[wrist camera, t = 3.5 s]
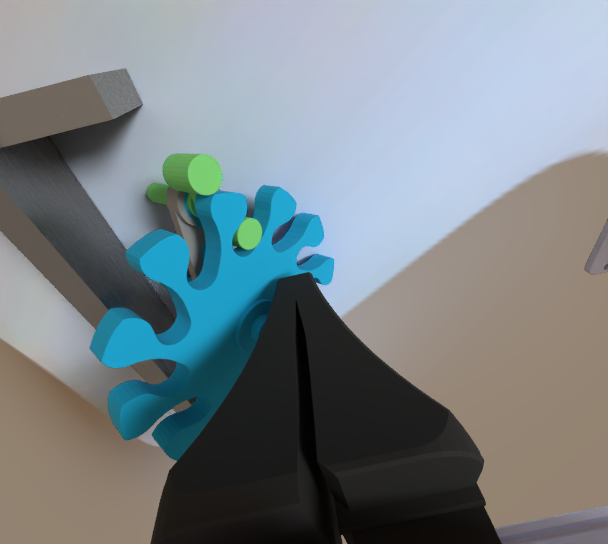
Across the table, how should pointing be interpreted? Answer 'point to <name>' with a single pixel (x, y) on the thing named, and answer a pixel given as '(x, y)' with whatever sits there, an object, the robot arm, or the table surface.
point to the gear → (202, 297)
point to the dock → (72, 205)
